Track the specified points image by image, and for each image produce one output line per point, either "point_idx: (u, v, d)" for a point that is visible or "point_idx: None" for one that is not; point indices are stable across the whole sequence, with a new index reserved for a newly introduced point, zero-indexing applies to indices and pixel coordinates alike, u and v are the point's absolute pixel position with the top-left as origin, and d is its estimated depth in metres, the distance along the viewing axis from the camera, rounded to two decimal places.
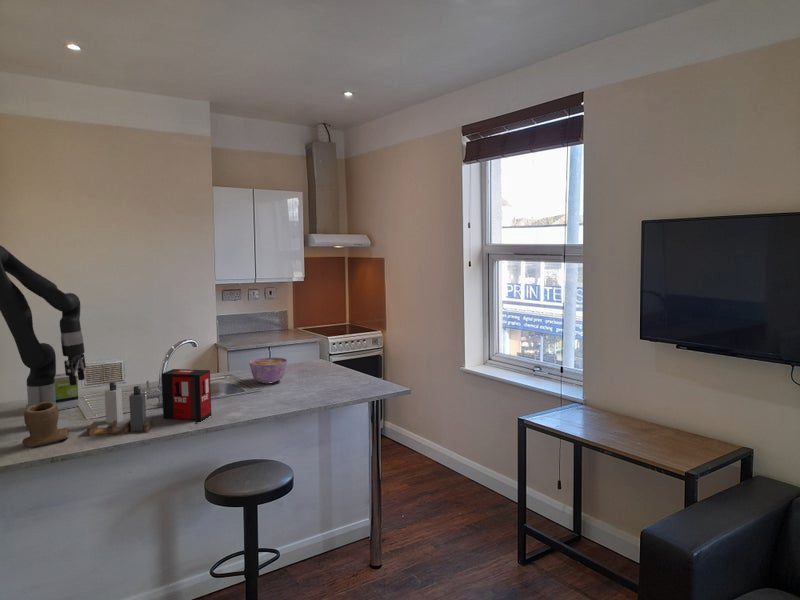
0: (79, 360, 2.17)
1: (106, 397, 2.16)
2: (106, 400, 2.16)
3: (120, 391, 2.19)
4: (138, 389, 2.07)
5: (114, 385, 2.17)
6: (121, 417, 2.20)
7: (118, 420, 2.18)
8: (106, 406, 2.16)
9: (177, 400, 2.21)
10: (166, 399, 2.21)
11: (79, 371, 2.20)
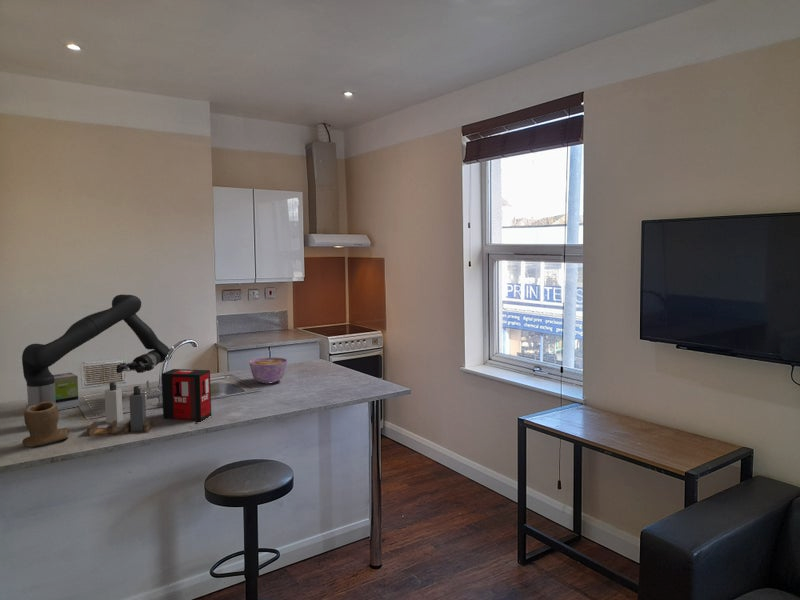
0: None
1: (106, 397, 2.16)
2: (106, 400, 2.16)
3: (120, 391, 2.19)
4: (138, 389, 2.07)
5: (114, 385, 2.17)
6: (121, 417, 2.20)
7: (118, 420, 2.18)
8: (106, 406, 2.16)
9: (177, 400, 2.21)
10: (166, 399, 2.21)
11: (122, 368, 2.34)
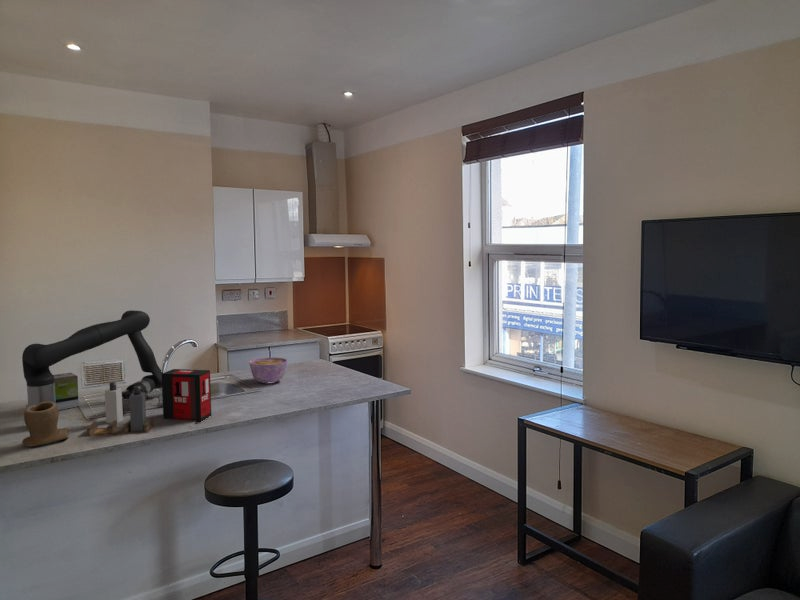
0: None
1: (106, 397, 2.16)
2: (106, 400, 2.16)
3: (120, 391, 2.19)
4: (138, 389, 2.07)
5: (114, 385, 2.17)
6: (121, 417, 2.20)
7: (118, 420, 2.18)
8: (106, 406, 2.16)
9: (177, 400, 2.21)
10: (166, 399, 2.21)
11: None
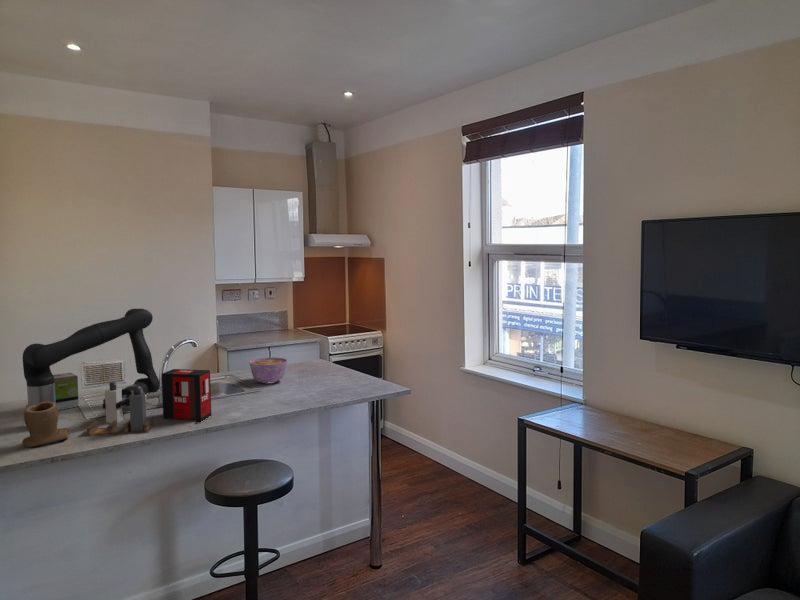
0: None
1: (106, 397, 2.16)
2: (106, 400, 2.16)
3: (120, 391, 2.19)
4: (138, 389, 2.07)
5: (114, 385, 2.17)
6: (121, 417, 2.20)
7: (118, 420, 2.18)
8: (107, 406, 2.16)
9: (177, 400, 2.21)
10: (166, 399, 2.21)
11: None
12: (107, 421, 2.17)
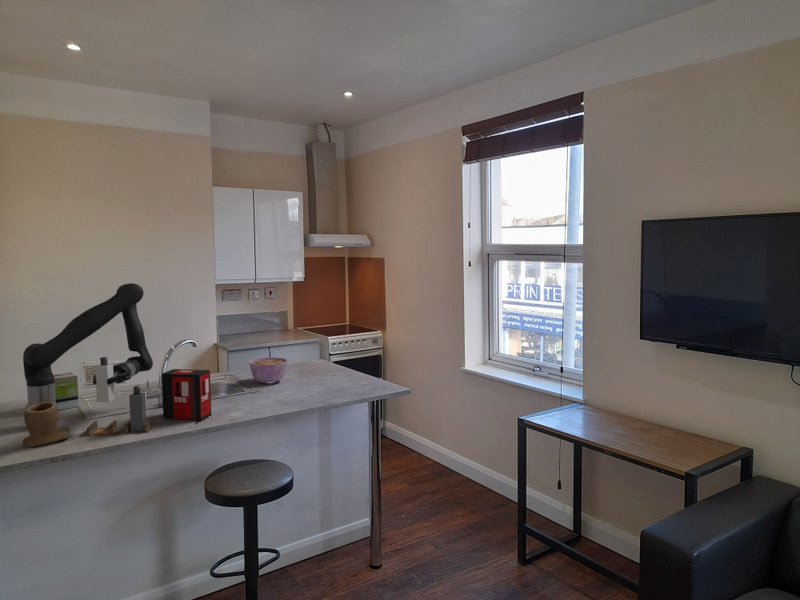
0: None
1: (97, 372, 2.07)
2: (97, 376, 2.07)
3: (111, 367, 2.10)
4: (138, 389, 2.07)
5: (105, 360, 2.08)
6: (112, 394, 2.11)
7: (109, 397, 2.09)
8: (97, 381, 2.07)
9: (177, 400, 2.21)
10: (166, 399, 2.21)
11: None
12: (98, 398, 2.08)
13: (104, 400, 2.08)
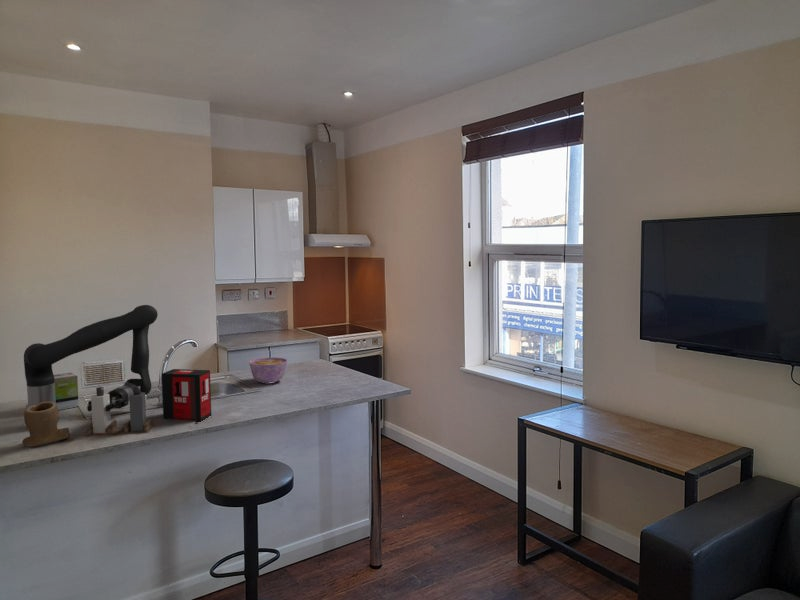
0: None
1: (93, 403, 2.03)
2: (93, 406, 2.03)
3: (108, 397, 2.07)
4: (138, 389, 2.07)
5: (101, 390, 2.04)
6: (109, 424, 2.07)
7: (106, 427, 2.05)
8: (93, 412, 2.03)
9: (177, 400, 2.21)
10: (166, 399, 2.21)
11: None
12: (94, 429, 2.04)
13: (100, 431, 2.04)
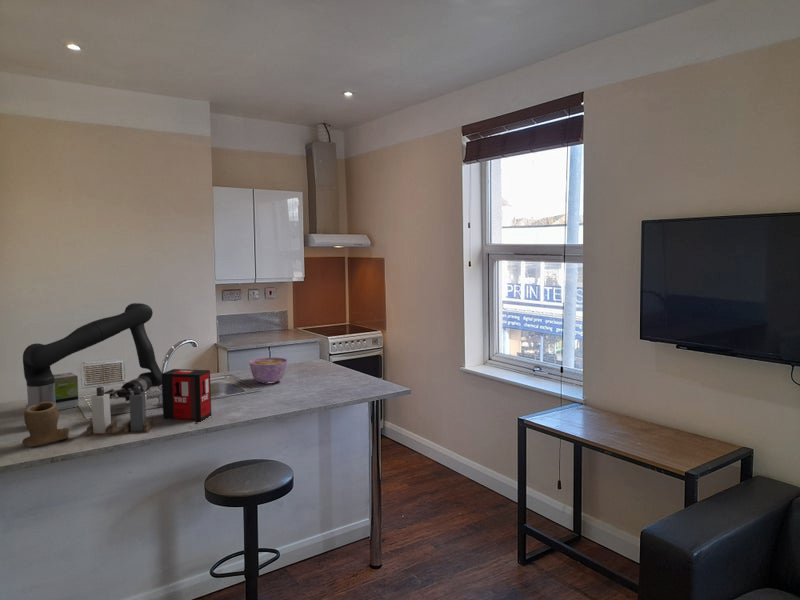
0: None
1: (93, 403, 2.03)
2: (93, 406, 2.03)
3: (108, 397, 2.07)
4: (138, 389, 2.07)
5: (101, 390, 2.04)
6: (109, 424, 2.07)
7: (106, 427, 2.05)
8: (93, 412, 2.03)
9: (177, 400, 2.21)
10: (166, 399, 2.21)
11: (110, 395, 2.20)
12: (94, 429, 2.04)
13: (100, 431, 2.04)
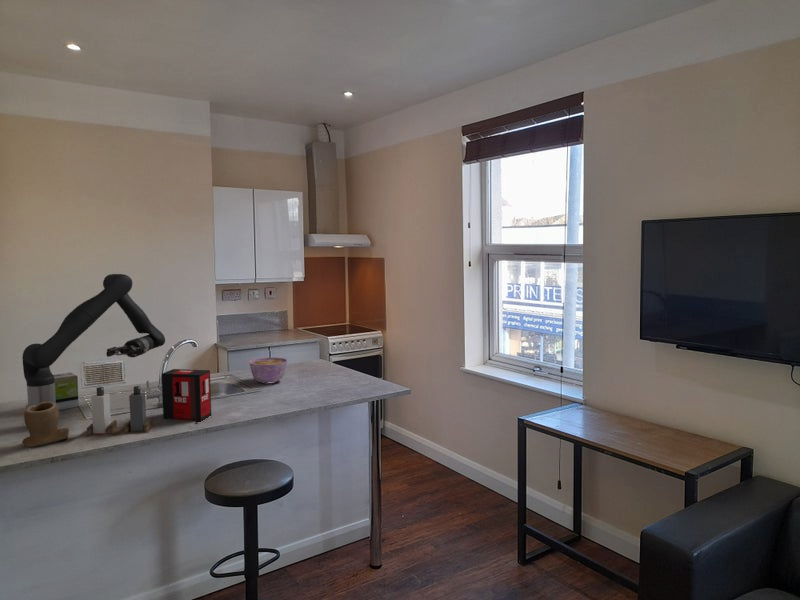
0: (127, 353, 2.29)
1: (93, 403, 2.03)
2: (93, 406, 2.03)
3: (108, 397, 2.07)
4: (138, 389, 2.07)
5: (101, 390, 2.04)
6: (109, 424, 2.07)
7: (106, 427, 2.05)
8: (93, 412, 2.03)
9: (177, 400, 2.21)
10: (166, 399, 2.21)
11: (112, 351, 2.24)
12: (94, 429, 2.04)
13: (100, 431, 2.04)
